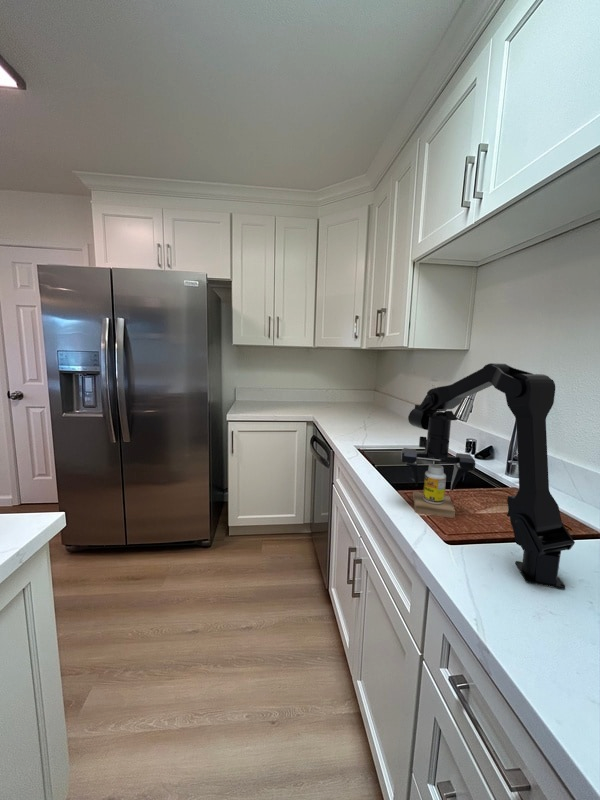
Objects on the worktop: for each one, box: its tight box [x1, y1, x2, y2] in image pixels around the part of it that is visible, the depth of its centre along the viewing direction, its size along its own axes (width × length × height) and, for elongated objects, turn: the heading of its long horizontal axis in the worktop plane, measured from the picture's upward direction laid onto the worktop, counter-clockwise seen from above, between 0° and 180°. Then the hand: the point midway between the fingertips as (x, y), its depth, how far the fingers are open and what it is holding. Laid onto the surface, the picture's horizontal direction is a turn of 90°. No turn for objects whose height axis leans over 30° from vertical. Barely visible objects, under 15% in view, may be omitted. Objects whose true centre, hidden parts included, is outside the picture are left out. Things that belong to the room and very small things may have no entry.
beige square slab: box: [412, 491, 456, 519], centre depth 95 cm, size 10×10×2 cm
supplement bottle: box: [422, 463, 447, 504], centre depth 94 cm, size 6×6×10 cm
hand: (434, 487), depth 95 cm, fingers open, 9 cm apart
